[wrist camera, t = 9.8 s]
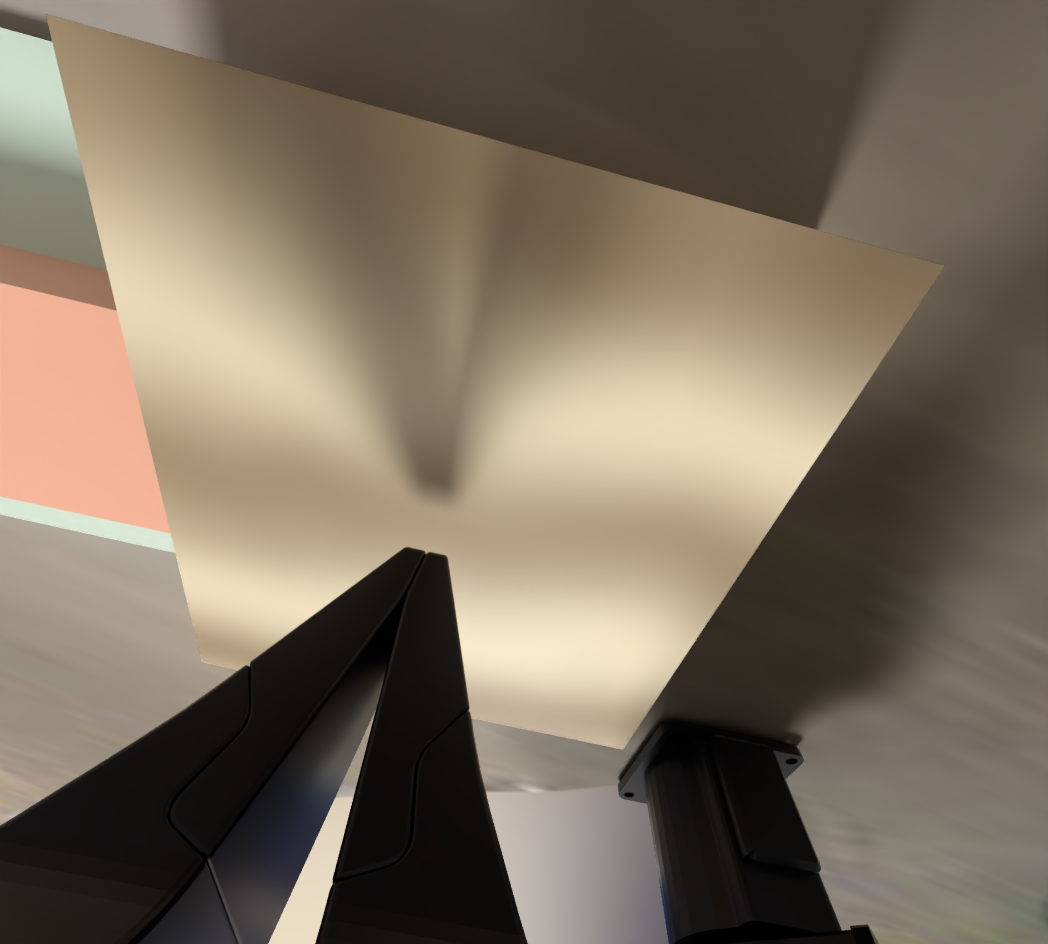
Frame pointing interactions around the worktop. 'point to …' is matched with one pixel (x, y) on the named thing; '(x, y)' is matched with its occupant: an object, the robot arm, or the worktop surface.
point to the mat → (48, 215)
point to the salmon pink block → (70, 396)
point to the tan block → (459, 372)
